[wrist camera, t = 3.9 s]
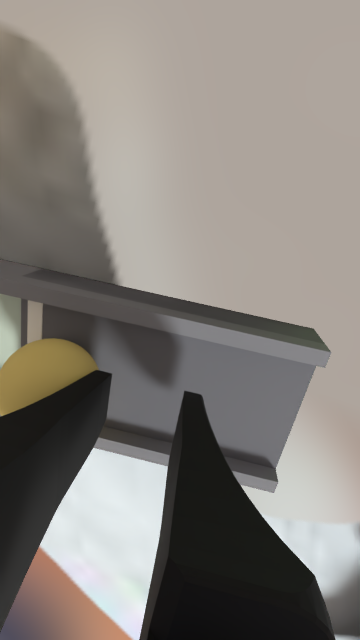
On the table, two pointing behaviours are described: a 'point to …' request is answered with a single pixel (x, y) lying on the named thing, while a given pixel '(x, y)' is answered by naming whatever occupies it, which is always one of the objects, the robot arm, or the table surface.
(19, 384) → the ball
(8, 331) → the pad
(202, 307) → the lane
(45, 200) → the table surface
